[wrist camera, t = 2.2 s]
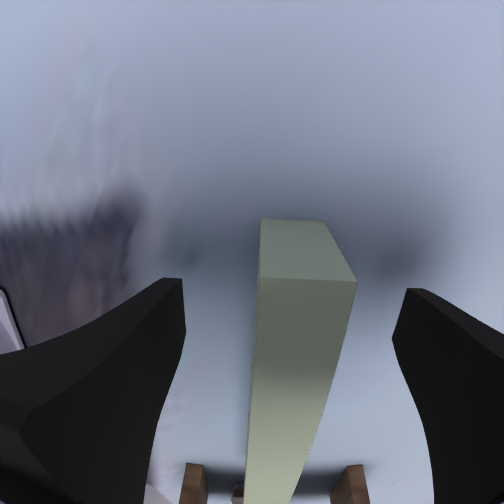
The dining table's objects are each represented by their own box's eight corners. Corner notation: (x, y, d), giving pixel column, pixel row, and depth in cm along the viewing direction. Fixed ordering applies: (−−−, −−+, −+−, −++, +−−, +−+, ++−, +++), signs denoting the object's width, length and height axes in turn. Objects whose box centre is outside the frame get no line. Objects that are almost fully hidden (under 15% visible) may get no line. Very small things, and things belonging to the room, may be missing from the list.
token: (232, 494, 22) (231, 508, 20) (232, 474, 20) (230, 490, 19) (283, 496, 22) (283, 510, 20) (289, 476, 20) (290, 492, 19)
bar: (246, 451, 19) (242, 514, 14) (260, 216, 12) (259, 277, 8) (281, 452, 18) (283, 515, 14) (322, 220, 12) (357, 281, 8)
